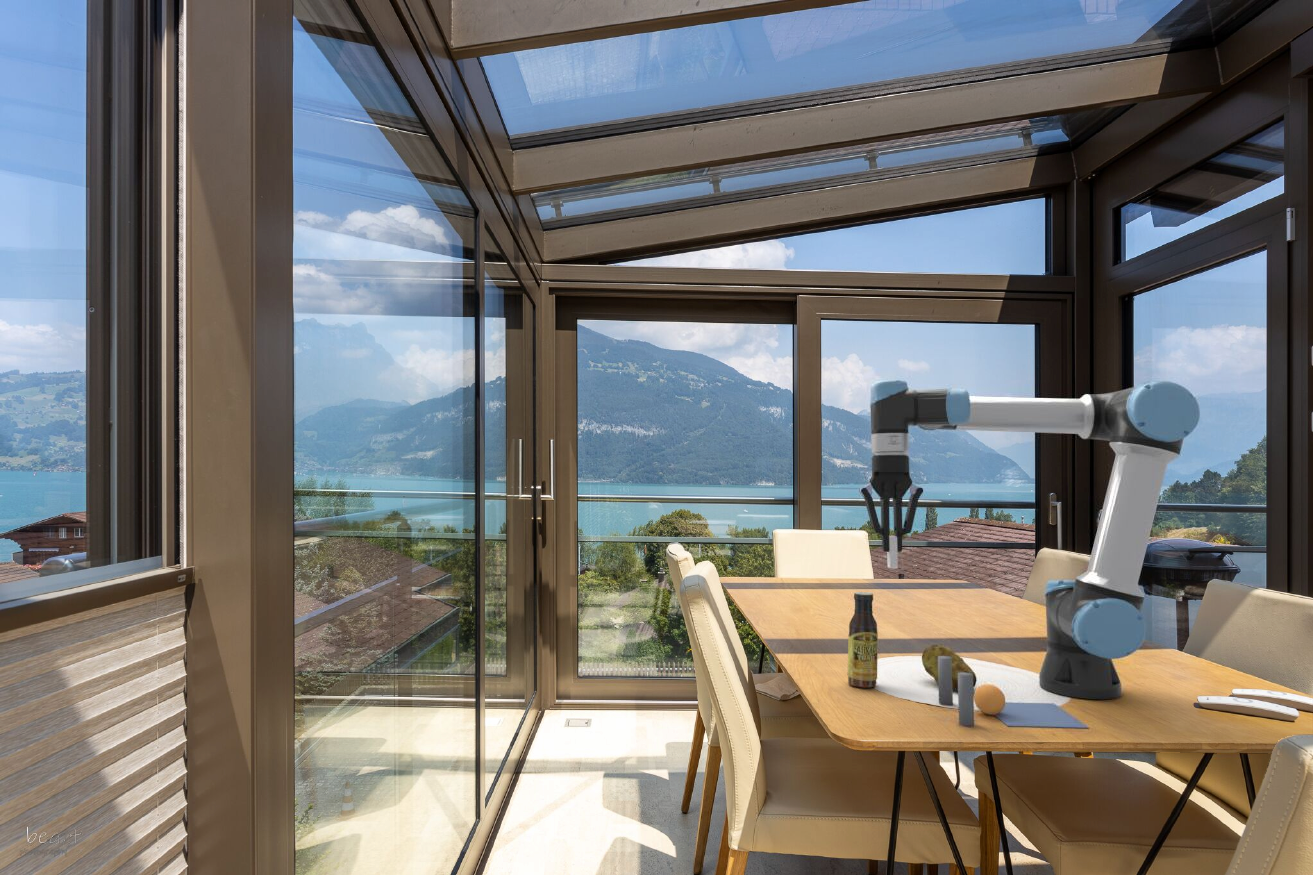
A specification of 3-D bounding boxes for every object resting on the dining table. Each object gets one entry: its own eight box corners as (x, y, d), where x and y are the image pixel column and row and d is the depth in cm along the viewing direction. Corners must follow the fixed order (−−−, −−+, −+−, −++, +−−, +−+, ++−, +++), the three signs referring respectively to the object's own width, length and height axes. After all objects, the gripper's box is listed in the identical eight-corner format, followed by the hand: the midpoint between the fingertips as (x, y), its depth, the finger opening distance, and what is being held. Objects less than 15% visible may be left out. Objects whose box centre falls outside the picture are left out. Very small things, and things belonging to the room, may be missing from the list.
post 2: (971, 721, 136) (970, 672, 136) (976, 726, 133) (975, 676, 134) (957, 721, 136) (955, 672, 136) (961, 726, 133) (960, 676, 134)
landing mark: (1053, 704, 146) (1053, 703, 146) (1088, 728, 132) (1088, 727, 132) (980, 702, 147) (980, 701, 147) (1007, 726, 133) (1007, 725, 133)
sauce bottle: (852, 689, 157) (850, 595, 158) (844, 681, 163) (842, 590, 164) (883, 689, 157) (881, 595, 158) (873, 680, 163) (871, 590, 164)
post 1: (950, 701, 148) (949, 655, 149) (954, 705, 146) (953, 659, 146) (937, 700, 148) (936, 655, 149) (941, 704, 146) (939, 658, 146)
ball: (974, 712, 143) (1002, 706, 143) (984, 721, 138) (1013, 715, 137) (966, 684, 143) (994, 678, 143) (976, 692, 138) (1005, 686, 138)
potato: (942, 695, 153) (941, 655, 153) (917, 678, 165) (916, 642, 166) (981, 694, 153) (980, 655, 153) (953, 677, 166) (952, 641, 166)
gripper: (861, 454, 151) (864, 569, 150) (927, 453, 150) (929, 570, 149) (855, 455, 159) (857, 565, 157) (917, 454, 157) (919, 565, 156)
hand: (892, 567), depth 153 cm, fingers closed
